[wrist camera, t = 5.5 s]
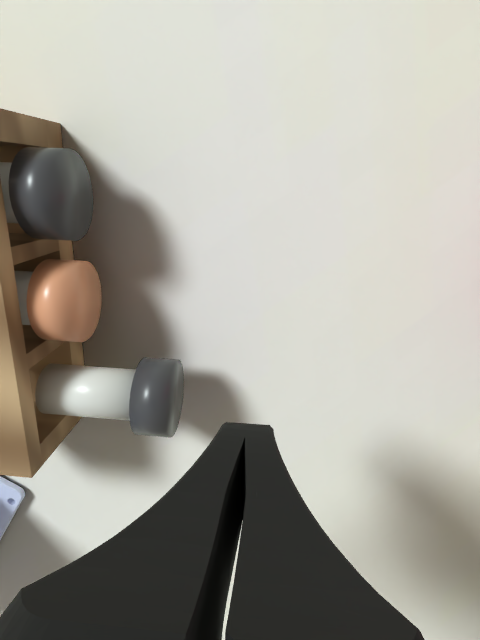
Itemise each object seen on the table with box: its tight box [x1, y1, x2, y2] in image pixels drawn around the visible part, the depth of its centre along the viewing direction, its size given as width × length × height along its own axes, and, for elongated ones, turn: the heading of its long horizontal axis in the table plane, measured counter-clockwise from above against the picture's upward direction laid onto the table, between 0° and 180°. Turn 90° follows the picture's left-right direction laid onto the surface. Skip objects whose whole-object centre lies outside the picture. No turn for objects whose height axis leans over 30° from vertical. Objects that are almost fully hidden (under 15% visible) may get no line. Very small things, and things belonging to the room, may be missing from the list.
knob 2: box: [35, 358, 184, 437], centre depth 20 cm, size 4×6×4 cm, turn 88°
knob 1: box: [0, 147, 93, 241], centre depth 17 cm, size 4×6×4 cm, turn 88°
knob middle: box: [14, 259, 102, 342], centre depth 19 cm, size 4×6×4 cm, turn 88°
